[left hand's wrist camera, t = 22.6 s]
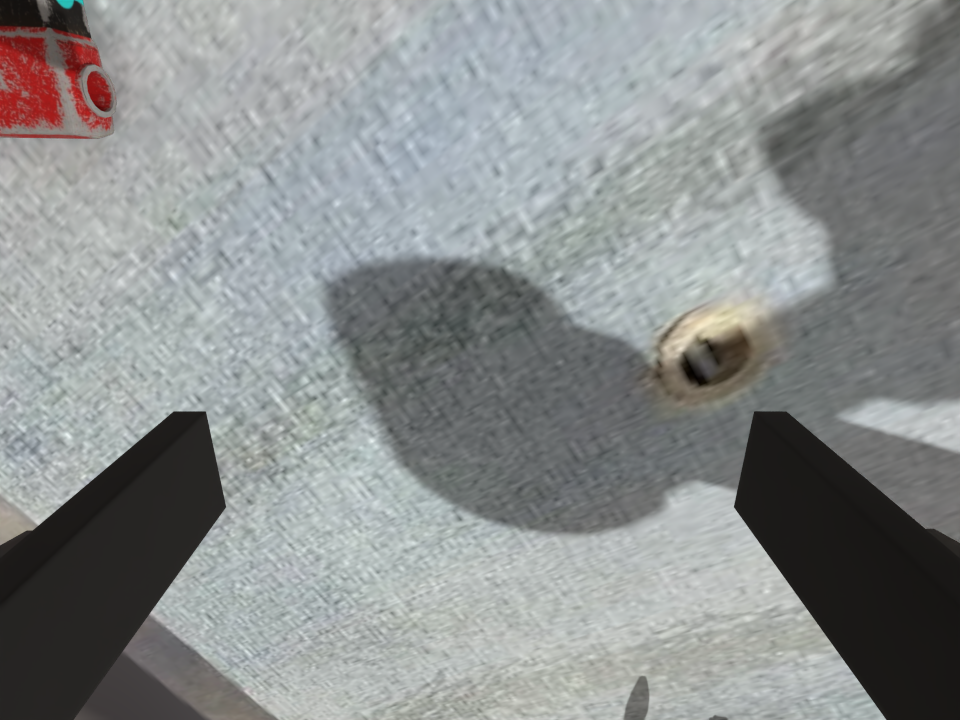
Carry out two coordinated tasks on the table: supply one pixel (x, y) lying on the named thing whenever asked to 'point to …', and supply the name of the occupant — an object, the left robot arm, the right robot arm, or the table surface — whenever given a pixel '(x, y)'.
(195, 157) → the table surface
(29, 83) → the gun
